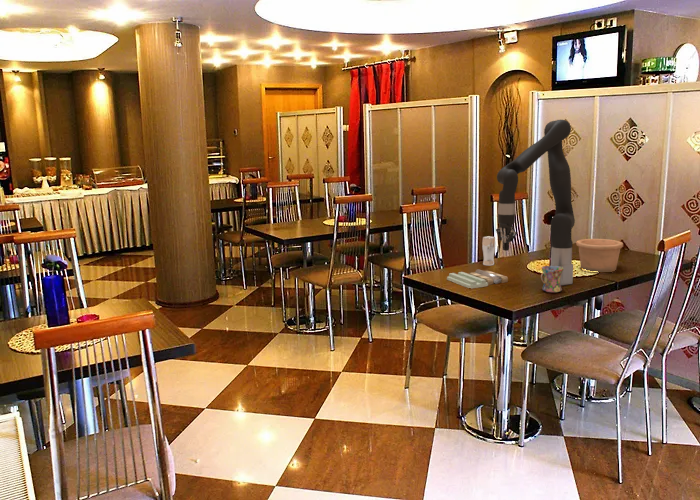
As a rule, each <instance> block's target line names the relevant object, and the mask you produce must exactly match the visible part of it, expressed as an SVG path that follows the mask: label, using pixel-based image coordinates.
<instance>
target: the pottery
mask: <svg viewBox="0 0 700 500" xmlns="http://www.w3.org/2000/svg"><path fill="white" fill-rule="evenodd" d="M576 246H577V247H578V252H579V253H578V255H579V264H580V269H581V268H583V269H586V270H590V271H598V272H612V271H615V270H616V271H617V267H618V261H619V256H620V252H621V249H622V248H623V247H624V243H623V242H622V241H619V240H614V239H608V238H607V239H606V238H582V239H578V240H577V241H576ZM616 271H615V272H616ZM612 273H613V272H612Z"/></svg>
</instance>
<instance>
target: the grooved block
mask: <svg viewBox="0 0 700 500" xmlns="http://www.w3.org/2000/svg"><path fill="white" fill-rule="evenodd" d="M446 280H447V281H450V282H452V283H454V284H457V285H459V286H462V287H464V288H467V289H469V288H471V289H478V288H483V287H489V285H488V283H487V282H486V280H484V279H481V278H478V277H476V276H473V275H470V274H469V273H467V272H464V271H459V272H457V273H456V272H452V273H451V272H450V273H448V276H446Z"/></svg>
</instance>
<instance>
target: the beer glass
mask: <svg viewBox="0 0 700 500" xmlns="http://www.w3.org/2000/svg"><path fill="white" fill-rule="evenodd" d="M481 244H482V247H481V248H482V254H483V262H482V265H483V266H495V261H494V259H495V258H494V257H495V251H496V236H490V235H488V236H487V235H486V236H482V242H481Z"/></svg>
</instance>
